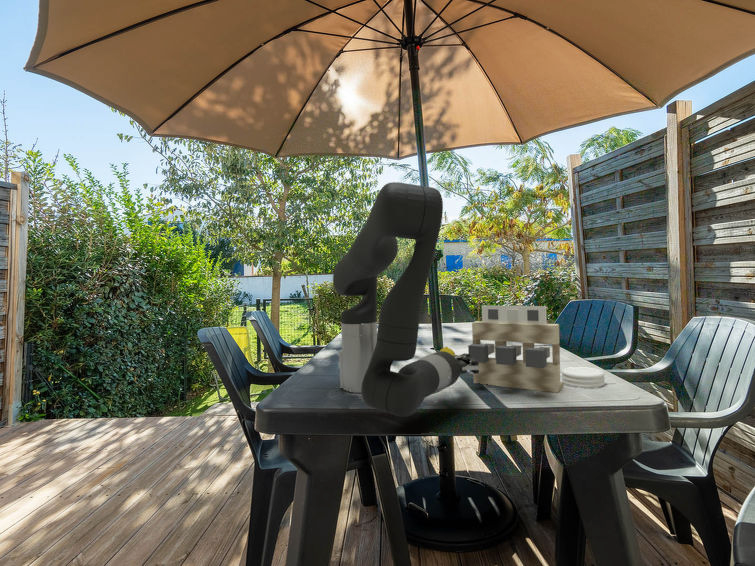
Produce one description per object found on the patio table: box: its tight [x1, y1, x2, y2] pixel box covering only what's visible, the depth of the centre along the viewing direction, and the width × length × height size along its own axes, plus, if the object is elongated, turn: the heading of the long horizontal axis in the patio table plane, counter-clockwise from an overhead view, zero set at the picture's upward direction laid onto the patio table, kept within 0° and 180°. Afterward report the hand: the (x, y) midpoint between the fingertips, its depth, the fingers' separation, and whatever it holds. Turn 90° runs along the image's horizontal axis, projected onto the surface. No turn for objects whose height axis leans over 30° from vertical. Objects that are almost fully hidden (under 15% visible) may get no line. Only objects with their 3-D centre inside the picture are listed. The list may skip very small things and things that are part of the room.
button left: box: [467, 343, 495, 363], centre depth 116 cm, size 4×10×4 cm, turn 146°
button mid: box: [496, 344, 522, 366], centre depth 112 cm, size 4×10×4 cm, turn 146°
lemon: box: [439, 346, 456, 356], centre depth 130 cm, size 6×6×8 cm
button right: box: [525, 346, 551, 368], centre depth 108 cm, size 4×10×4 cm, turn 146°
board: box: [471, 320, 564, 394], centre depth 116 cm, size 21×6×16 cm, turn 56°
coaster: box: [561, 366, 606, 389], centre depth 115 cm, size 10×10×4 cm
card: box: [481, 304, 548, 325], centre depth 114 cm, size 16×1×4 cm, turn 56°
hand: (467, 357), depth 107 cm, fingers closed
